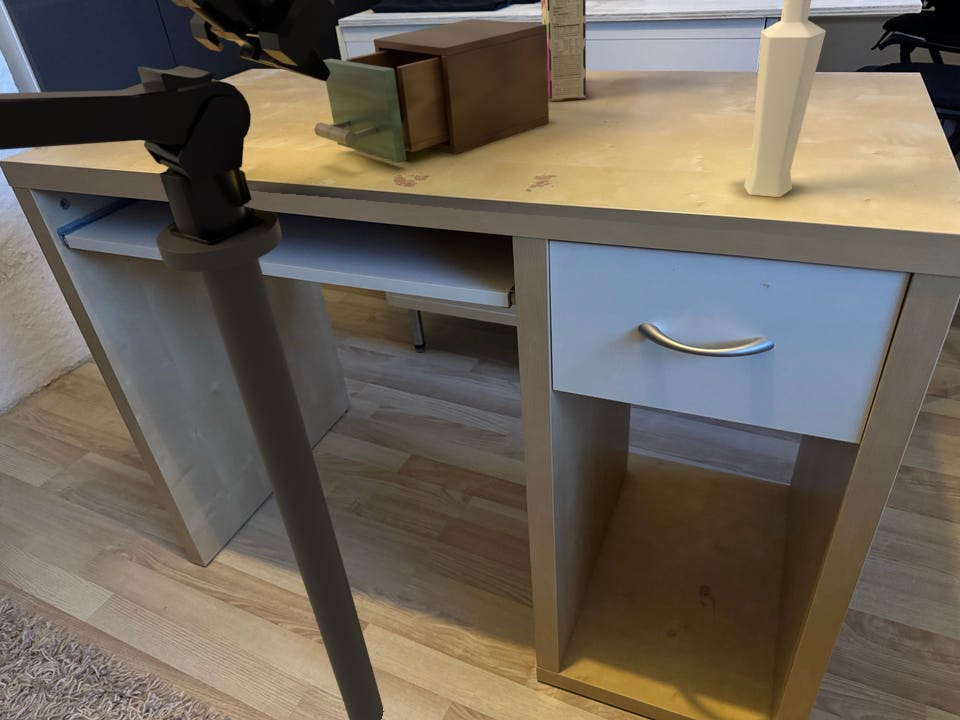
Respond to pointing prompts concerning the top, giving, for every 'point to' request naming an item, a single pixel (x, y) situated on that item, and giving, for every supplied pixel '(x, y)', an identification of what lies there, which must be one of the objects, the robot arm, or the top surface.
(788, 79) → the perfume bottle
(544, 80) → the cabinet
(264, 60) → the robot arm
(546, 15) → the candy bar box
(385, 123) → the drawer
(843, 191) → the top surface
